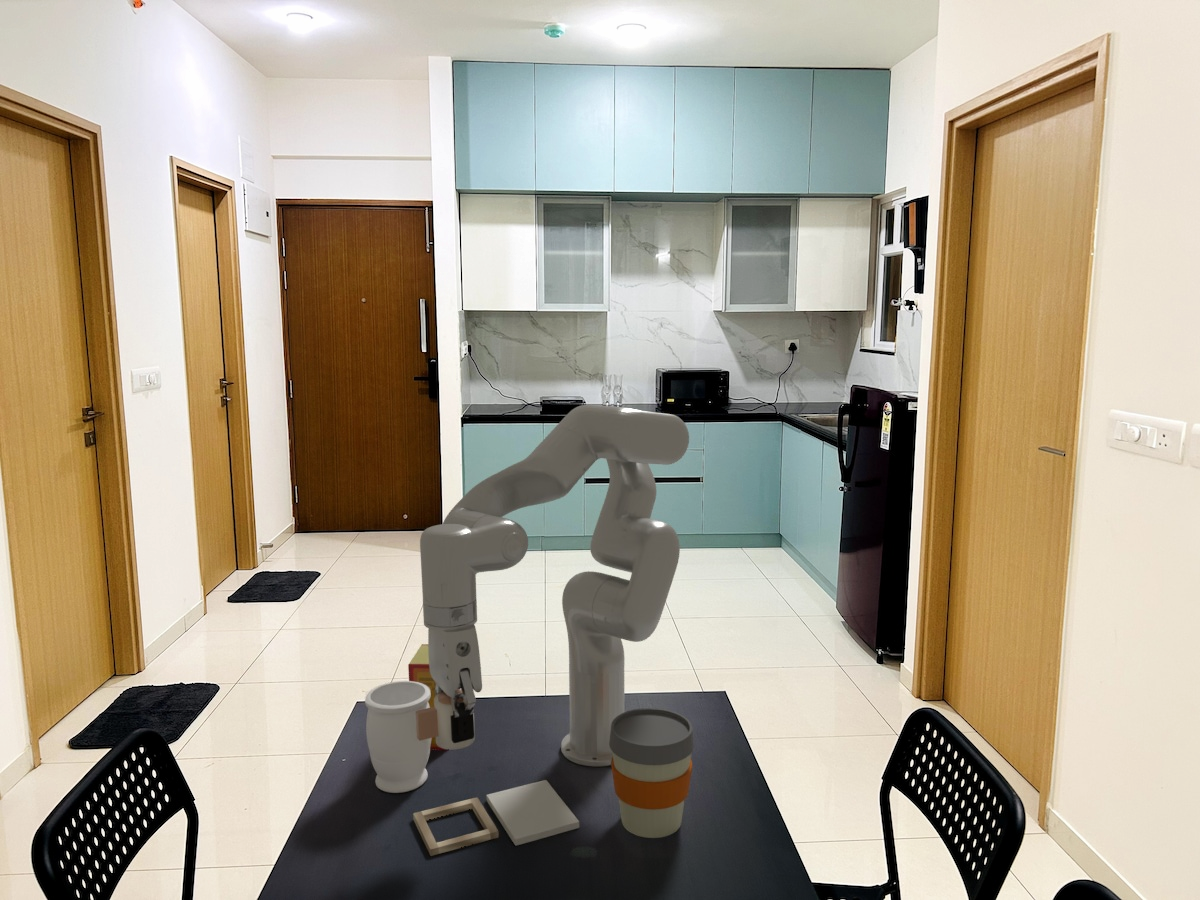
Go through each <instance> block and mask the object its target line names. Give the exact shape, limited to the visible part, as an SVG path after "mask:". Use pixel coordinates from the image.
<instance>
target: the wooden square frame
mask: <svg viewBox="0 0 1200 900" xmlns="http://www.w3.org/2000/svg"><path fill="white" fill-rule="evenodd" d="M469 809H470V810H472V811H473V813H474V814H475V817H476V818H477V820H478V821H479V823H480V824H481V826H482V828H483V829H482V830H479V831H475V832H472V833H467V834H463V835H460V836H457V837H453V838H449V839H444V840H443V841H437V840H436V839H435V837H434V834H433V832H432V831H431V828H430V827H429V825H428V823H427V821H430V820H429V819H431V820H435V819H438V818H437V817H439V818H442V817H441V816H443V817H446V815H447V816H450V815H449V814H451V815H453V813H454V814H457V813H461V812H466V811H469ZM412 816H413V821H414V823H415V826H416V828H417V830H418V832H419V834H420V837H421V839H422V841H423V843H424V845H425V847H426V849H427V851H428V854H429V856H431V857H432V856H436V855H439V854H442V853H446V852H450V851H455V850H457V849H458V850H459V849H461V847H462V848H465V847H464V846H466V847H469V846H472V844H473V845H476V844H480V843H483V842H486V841H489V840H490V841H491V840H493V839H494V840H495V839H498V838H499V829H498V828H497V825H496V824H495V823H494V821H493V820H492V818H491V817H490V816H489V814H488V813H487V811H486V809H485V807H484V805H483V803H482V802H481V801H480V799H479V798H478V797H472V798H469V799H465V800H461V801H457V802H451V803H449V804H444V805H440V806H437V807H434V808H429V809H425V810H421V811H417V812H414V813H413V814H412ZM434 818H435V819H434Z"/></svg>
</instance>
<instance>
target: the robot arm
mask: <svg viewBox="0 0 1200 900" xmlns="http://www.w3.org/2000/svg"><path fill="white" fill-rule="evenodd" d="M689 443H690V434H689V429H688V427H687V425H686V423H685V422H684V421H683V419H681V418H680V417H679V416H677V415H675V414H672V413H671V414H670V413H664V412H663V413H662V412H655V411H654V412H653V411H646V410H640V409H636V408H635V409H634V408H629V407H623V406H614V405H613V406H611V405H600V404H583V405H579V406H576V407H574V408H573V409H571V410H570V411H569V412H568V413H567V414H566V415H565V416H564V417H563V418H562V419H561V421H559V423H558V424H557V425H556V426H555V427H554V428H553V429H552V430H551V431H550V432H549V433H548V435H546V437H545V438H544V439H543V440H542V441H541V442H540V443H539V444H538V445H537V446H536V447H535V449H534V450H533V451H531V453H530V454H529V455H528V456H527V457H525V458H524V459H523V460H520V461H518V462H516V463H514V464H511V465H510V466H508V467H506V468H503V469H501V470H500V471H497V472H496V473H494V474H491V475H490V476H488V477H487V478H485V479H483V480H482V481H480V482H478V483H477V484H475V485H474V486H473V487H472V488H471V489H470V490H468V491H467V492H466V494H465V495H463V497H461V498H460V499H459V500H458V502H457V503H456V504H455V505H454V506H453V507H452V508H451V510H450V511H449V512H448V514H447V515H446V517H445V519H443V522H442V524H441V523H440V524H436V525H432V526H430V527H426V529H424V530H423V531H422V532H421V535H420V539H419V548H420V553H419V554H420V567H421V572H420V573H421V589H422V590H421V591H422V615H423V626H424V627H425V628H427V629H428V631H427V633H428V639H427V640H428V641H427V643H428V653H429V668H430V674H431V676H432V678H433V680H434V681H435V682H436V687H435V694H436V696H437V695H438V694H440V693H441V692H443V691H444V692H445V693H446V694H447V695H448V696H449V697H451V704H452V711H453V715H452V716H451V738H452V742H453V743H458V742H462V741H466V740H470V739H473V738H474V728H475V717H474V718H473V714H474V715H475V705H476V704H477V699H476V695H475V692H476V693H481V692H482V691H483V679H482V678H483V677H482V667H481V656H480V654H481V653H480V646H479V640H478V633H477V630H476V629H477V628H476V626H475V624H476V623H477V622H478V606H477V578H476V577H477V574H479V573H485V572H497V571H498V572H499V571H504V570H507V569H511V568H513V567H514V566H516V565H518V564H519V563H520V562H521V561H522V560H523V559H524V557H525V556H526V554H527V552H528V547H529V538H528V533H527V532H526V531H525V529H524V528H523V526H521V524H519V523H518V522H517V521H514V520H512V519H509V518H506V517H505V516H506V515H508V514H510V513H512V512H514V511H516V510H520V509H522V508H528V507H532V506H535V505H536V506H537V505H542V504H545V503H546V504H547V503H550V502H553V501H556V500H559V499H561V498H564V497H565V496H567V495H568V494H569V493H570V491H572V489H573V488H574V487H575V486H576V485H577V484H578V482H579V480H581V478H582V477H584V475H585V473H587V472H588V470H589V469H590V468H591V467H592V466H593V465H594V464H595V462H596V461H597V460H600V459H605V460H606V463H607V466H608V471H609V483H608V487H607V492H606V495H605V497H604V500H603V503H602V507H601V510H600V513H599V516H598V518H597V521H596V525H595V528H594V529H593V530H594V531H593V534H592V536H591V542H590V546H589V547H590V548H589V549H590V554H591V557H592V558H593V559H594V560H595V561H596V562H597V563H599V564H600V565H602V566H604V567H605V566H606V567H609V568H611V569H615V570H619V571H624V572H627V573H631V574H630V577H629V579H626V578H621V577H619V576H615V575H612V574H607V573H603V572H598V571H589V570H588V571H582V572H579V573H577V574H574V575H573V576H572V577H571V578H570V579H569V580H568V581H567V583H566V584H565V586H564V589H563V592H562V597H561V598H562V599H561V602H562V603H561V604H562V614H563V618H564V622H565V625H566V630H567V631H566V632H567V639H568V640H567V641H568V642H567V643H568V676H569V677H568V680H569V681H568V682H569V683H568V684H569V685H568V686H569V688H568V689H569V693H568V694H569V697H568V699H569V733H567V734H566V735H565V736H564V737H563V738H562V740H561V744H560V748H561V749H560V750H561V754H562V756H564V757H565V758H566V759H567V760H569V761H570V762H572V763H575V764H577V765H581V766H586V767H608V766H611V759H612V757H613V753H612V750H611V749H610V745H609V741H610V731H611V724H612V721H613V720H614V719H615V718H616V717H617V716H618V715H620V714H622V713H624V712H625V650H624V644H623V641H622V640H624V641H627V642H628V641H629V642H633V643H636V642H637V643H638V642H643V641H646V640H647V639H648V638H650V637H651V635H653V633H654V632H655V630H656V629H657V626H658V625H659V623H660V620H661V618H662V614H663V611H664V610H665V609H664V608H665V605H666V602H667V600H668V599H667V598H668V595H669V594H670V593H669V592H670V590H671V586H672V583H673V580H674V577H675V574H676V571H677V567H678V563H679V558H680V549H681V548H680V547H681V546H680V539H679V536H678V534H677V532H676V530H675V528H674V527H673V526H672V525H671V524H669V523H666V522H664V521H661V520H657V519H653V518H652V519H651V517H652V513H653V511H654V510H653V509H654V505H655V502H656V498H657V484H656V480H655V477H654V474H653V471H652V470H651V467H650V465H663V466H668V465H672V464H675V463H677V462H679V461H680V460H681V459H682V458H684V456H685V453H686V452H687V451H688V448H689ZM457 689H462V692H461V693H457V694H456V693H455V690H457ZM462 697H464V700H463V702H462V703H460V704H459V706H458V704H457V699H458V698H462Z"/></svg>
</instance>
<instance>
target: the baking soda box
mask: <svg viewBox="0 0 1200 900" xmlns="http://www.w3.org/2000/svg"><path fill="white" fill-rule="evenodd" d="M407 668H408V669H407V670H408V681H415V682H420V683H423V684H425V685H427V686H428V687H429V688H430V692H431V697H430V699H429V701H428V703H429V706H430V707H434V698H435V697H436V694H435V687H436V682H435V681H434V680H433V678H432V676H431V674H430V668H429V653H428V644H426V643H425V644H424V643H423V644H422V643H421V645H420V646H419V648H418V649H417V651H416V652H415V654H414V655H413V657H412V658H411V660H410V662H409V663H408V666H407ZM430 749H431V750H430V751H449V750H448V749H447V750H445V749H443V748H441V747H439V746H438V745H437V744H436V737H433V738H431V745H430ZM432 749H434V750H432ZM435 749H436V750H435ZM438 749H439V750H438Z"/></svg>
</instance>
